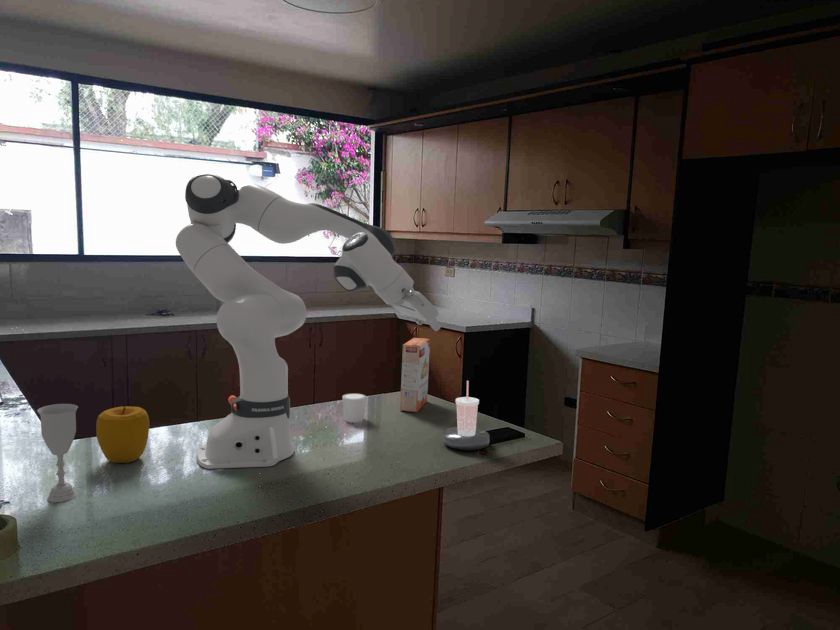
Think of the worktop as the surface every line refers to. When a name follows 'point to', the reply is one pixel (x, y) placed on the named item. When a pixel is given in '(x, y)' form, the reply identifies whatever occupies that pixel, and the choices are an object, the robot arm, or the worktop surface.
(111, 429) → the apple
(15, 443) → the worktop surface
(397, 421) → the worktop surface
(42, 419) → the chalice
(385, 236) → the robot arm
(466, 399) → the beverage cup
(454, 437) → the turntable
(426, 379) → the cracker box
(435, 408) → the worktop surface
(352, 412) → the white short cylinder
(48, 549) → the worktop surface
